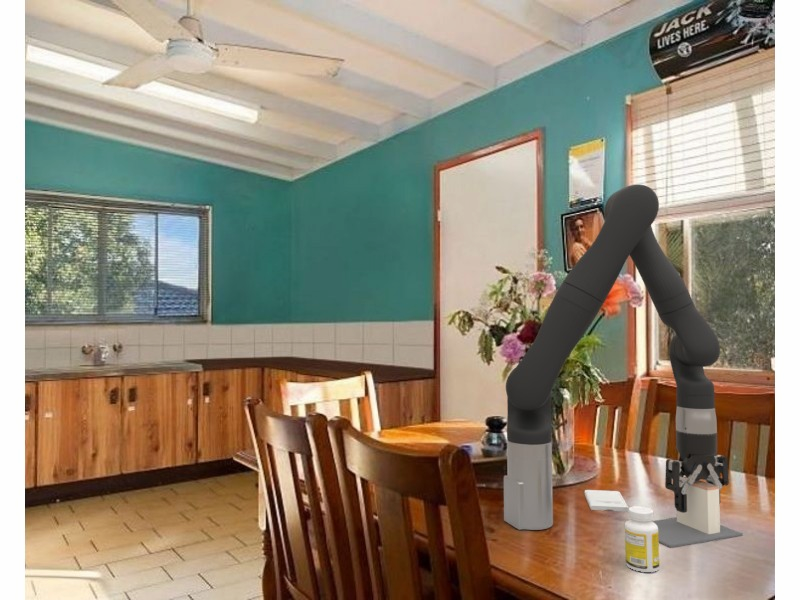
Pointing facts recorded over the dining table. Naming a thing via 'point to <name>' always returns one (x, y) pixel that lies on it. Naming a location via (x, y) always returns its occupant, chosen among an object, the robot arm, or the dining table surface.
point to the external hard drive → (606, 500)
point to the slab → (702, 508)
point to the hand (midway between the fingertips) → (697, 509)
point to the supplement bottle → (641, 540)
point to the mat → (688, 533)
